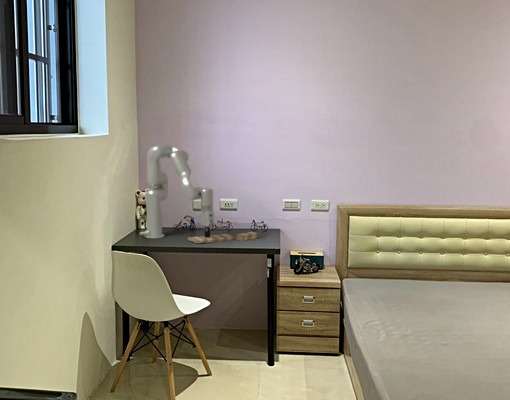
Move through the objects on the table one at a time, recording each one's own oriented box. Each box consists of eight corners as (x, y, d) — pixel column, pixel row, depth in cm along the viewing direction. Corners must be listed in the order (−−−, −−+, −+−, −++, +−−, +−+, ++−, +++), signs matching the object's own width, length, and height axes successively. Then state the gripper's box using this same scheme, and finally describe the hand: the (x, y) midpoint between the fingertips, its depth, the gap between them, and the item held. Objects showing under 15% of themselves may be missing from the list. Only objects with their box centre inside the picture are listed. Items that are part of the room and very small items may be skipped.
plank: (197, 243, 348) (197, 240, 348) (187, 239, 358) (188, 237, 358) (216, 241, 356) (217, 239, 356) (207, 238, 366) (207, 236, 366)
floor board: (217, 241, 357) (217, 239, 356) (207, 238, 366) (207, 236, 366) (236, 239, 364) (236, 236, 364) (226, 236, 374) (226, 233, 374)
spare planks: (242, 240, 360) (242, 235, 359) (235, 239, 364) (235, 234, 364) (259, 237, 370) (259, 233, 370) (252, 236, 375) (252, 231, 374)
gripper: (218, 209, 353) (218, 238, 355) (206, 206, 365) (206, 234, 367) (207, 210, 348) (208, 239, 351) (195, 207, 361) (196, 235, 363)
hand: (207, 237), depth 359 cm, fingers closed
